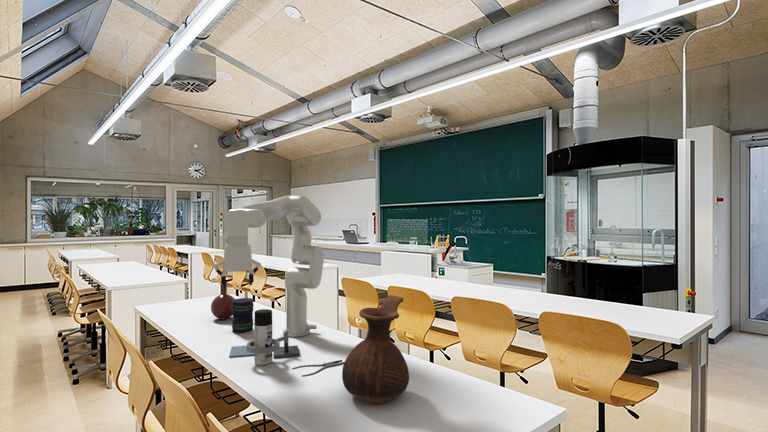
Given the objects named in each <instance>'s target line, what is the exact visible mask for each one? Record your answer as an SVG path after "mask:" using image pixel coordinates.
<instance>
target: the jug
mask: <svg viewBox="0 0 768 432" xmlns="http://www.w3.org/2000/svg"><path fill="white" fill-rule="evenodd" d="M403 302H404V297H402V296H398V295H393V294H389V295H388V296H387V297H386V299H385V300H384V301H383V302H382V304H381V305H380V306H379V307H365V308H362V309H360V310H359V311H358V312H359V313H358V314H359V316H360V318H362V319H364V320H365V321H366V323H367V327H368V328H367V333H366V337H365V339H363V340H361V341H360V342H359V343H358V344H356V346H354V347H353V349H352V350H351V351H350V352H349V353H348V355H347V357H345V360H344V361H343V362H344V364H342V365H343V366H342V374H341V376H342V377H341V378H342V379H341V380H342V384H343V386H344V388H345V389H346V391H347V392H348V393H349V394H351V395H352V396H354V397H356V398H357V399H358V400H360V401H363V402H364V403H369V404H373V405H380V404H381V405H382V404H386V403H390V402H391V401H393V400H395V399H396V398H397V397H399V396H401V395H402V394H403V393H404V392H406V390H407V388H408V385H409V382H410V372H409V368H408V364H407V361H406V359H405V358H404V355H403V354H402V353H403V352H401V350H400V349H399V348H398V347H397V345H396V344H395V343H393V341H392V339H391V334H390V329H391V328H390V327H391V324H392V322H393V320H397V319H399V317H400V314H399V312H398V307H399V306H400V304H401V303H403Z"/></svg>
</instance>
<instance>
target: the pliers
mask: <svg viewBox="0 0 768 432" xmlns="http://www.w3.org/2000/svg"><path fill="white" fill-rule="evenodd" d="M344 362H345V361H343V360H342V359H339V360H333V361H329V362H324V363H321V364H319V363H318V364H306V365H305V364H304V365H299V366H296V367H293V368H292V370H296V369H300V368H307V367H308V368H309V367H321V368H320V369H318V370H316V371H314V372H311V373H308V374H302V375H301V377H302V378H303V377H308V376H312V375H316V374H317V373H320V372H322V371H323V370H325V369H327V368H331V367H332V368H333V367H339V366H342V365H344Z"/></svg>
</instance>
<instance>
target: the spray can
mask: <svg viewBox="0 0 768 432" xmlns="http://www.w3.org/2000/svg"><path fill="white" fill-rule="evenodd" d="M253 331H254V333H253V335H254V339H253V340H254V347H259V348H261V347H269V346H273V345H272V339H273V310H272V309H266V308H263V309H257V310H255V311H254V317H253ZM253 361H254V364H255V365H256V366H267V365H270V364H272V363H273V352H270V353H264V354H255V353H254V360H253Z"/></svg>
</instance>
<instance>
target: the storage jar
mask: <svg viewBox="0 0 768 432" xmlns="http://www.w3.org/2000/svg"><path fill="white" fill-rule="evenodd" d="M232 302H233V304H232V305H233V306H232V312H233V315H232V320H231V321H232V322H231V327H232V328H231V329H232V333H233V334H241V333H242V334H247V333H251V332H252V331H254V317H253V316H254V315H253V314H254V299H253V298H249V297H241V298H234V300H233V301H232Z"/></svg>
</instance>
